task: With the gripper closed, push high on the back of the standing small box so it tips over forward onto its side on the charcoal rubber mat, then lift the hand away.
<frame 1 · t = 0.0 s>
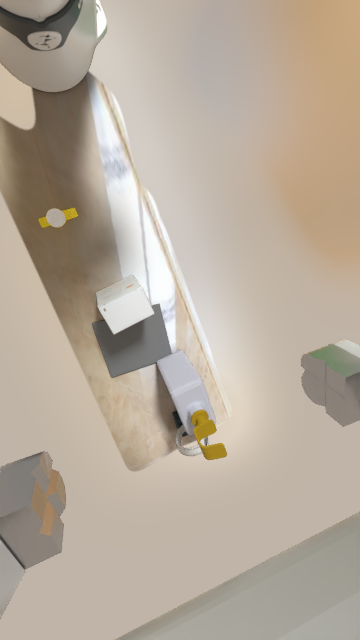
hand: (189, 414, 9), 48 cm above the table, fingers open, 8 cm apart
mat: (134, 340, 59), on the table
small box: (120, 294, 55), on the table
soap bottle: (176, 374, 65), on the table, touching mat
watch: (183, 416, 71), on the table
watch 2: (60, 217, 48), on the table
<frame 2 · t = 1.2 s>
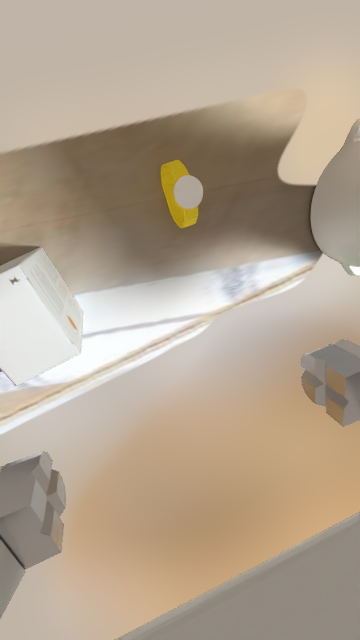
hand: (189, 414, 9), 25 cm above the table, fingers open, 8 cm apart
small box: (40, 292, 29), on the table
watch 2: (171, 197, 30), on the table
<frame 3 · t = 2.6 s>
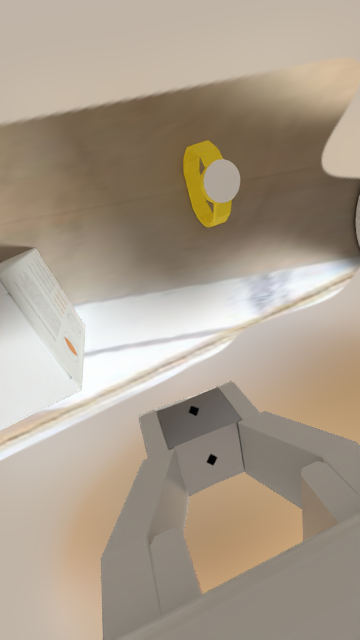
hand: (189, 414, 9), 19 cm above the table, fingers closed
small box: (34, 302, 24), on the table
watch 2: (194, 189, 24), on the table
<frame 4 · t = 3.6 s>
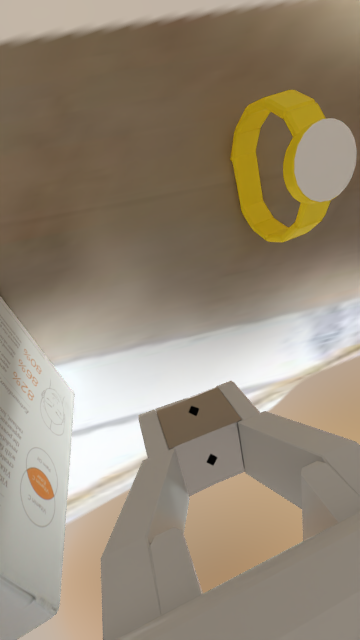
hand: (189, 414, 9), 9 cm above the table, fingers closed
watch 2: (244, 181, 16), on the table
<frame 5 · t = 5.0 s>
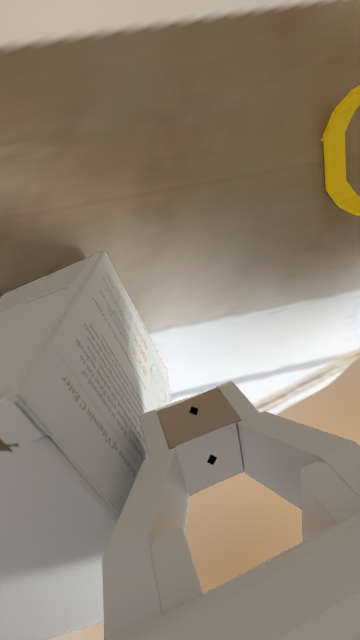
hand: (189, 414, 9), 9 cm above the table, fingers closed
small box: (96, 332, 16), on the table
watch 2: (330, 161, 17), on the table
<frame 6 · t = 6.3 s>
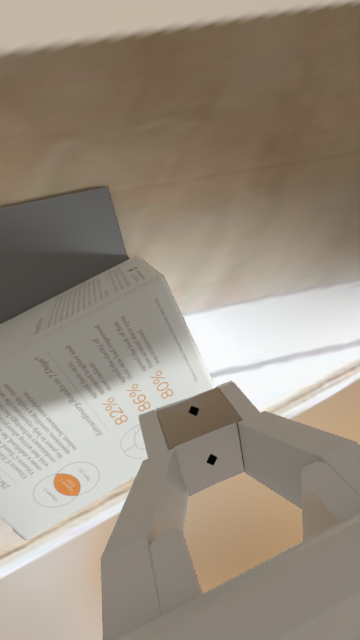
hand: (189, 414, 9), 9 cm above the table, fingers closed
mat: (27, 350, 15), on the table
small box: (187, 331, 14), point 3 cm above the table, touching mat
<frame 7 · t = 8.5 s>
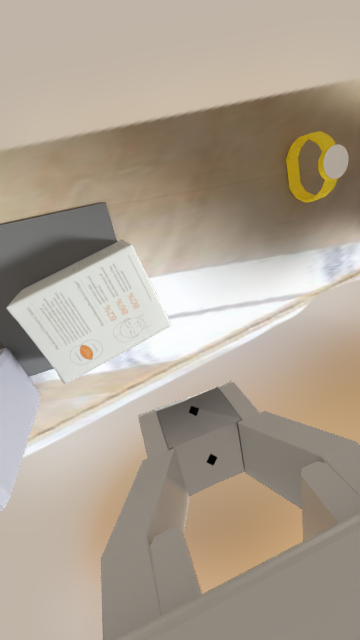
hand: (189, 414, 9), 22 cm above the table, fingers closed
mat: (60, 294, 27), on the table
small box: (149, 280, 26), point 3 cm above the table, touching mat
watch 2: (291, 173, 30), on the table
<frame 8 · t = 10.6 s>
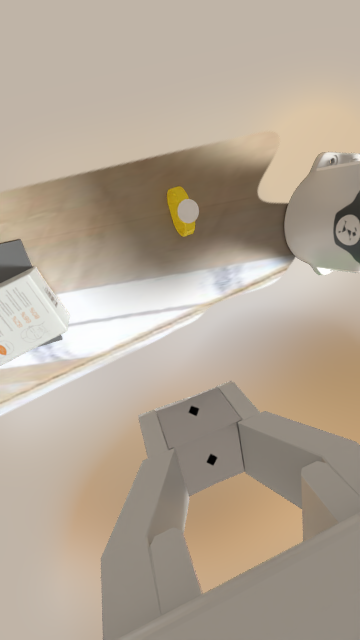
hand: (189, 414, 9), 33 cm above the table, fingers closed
small box: (54, 296, 35), point 3 cm above the table, touching mat
watch 2: (174, 212, 39), on the table
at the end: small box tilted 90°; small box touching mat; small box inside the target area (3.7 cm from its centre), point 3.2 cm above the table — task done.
